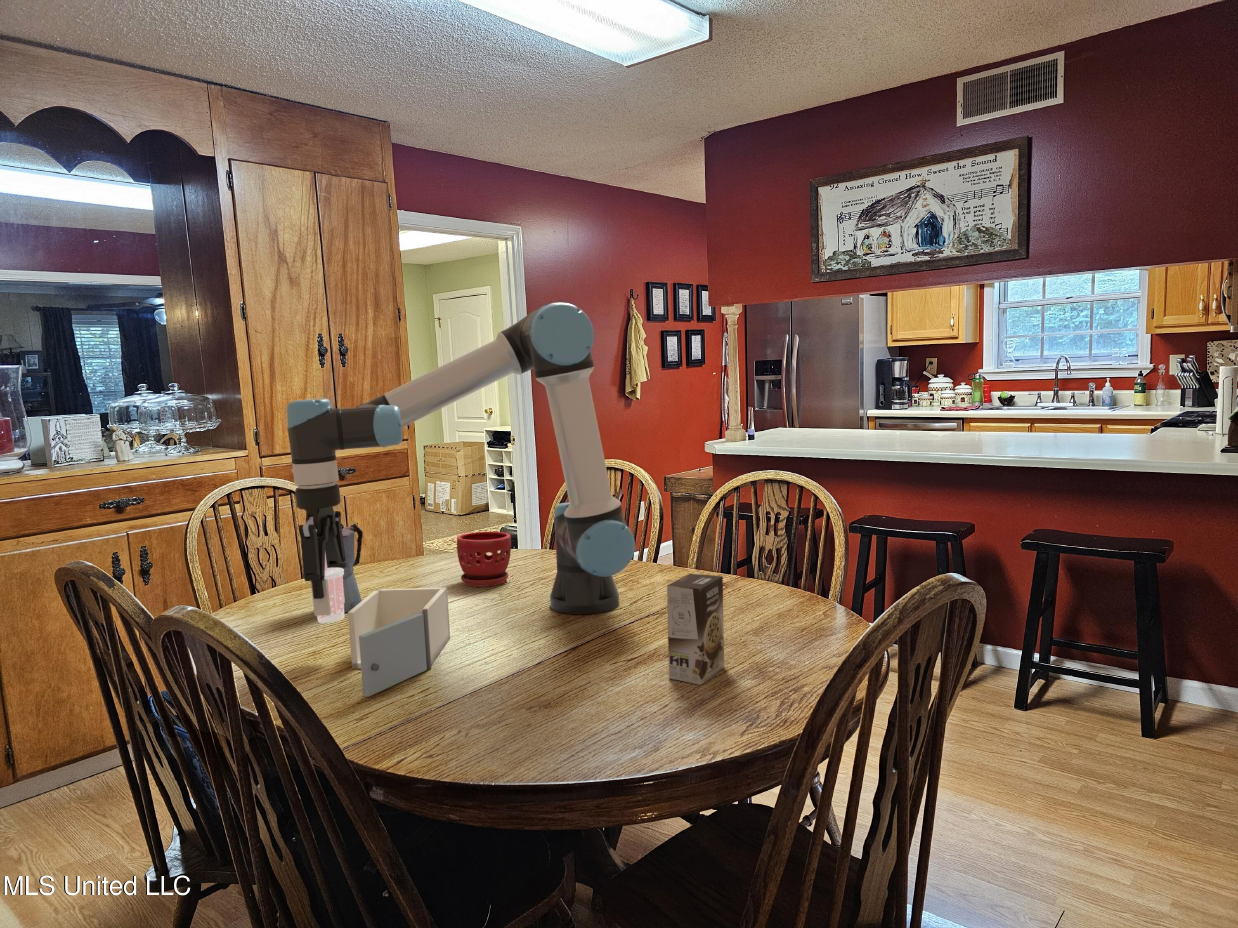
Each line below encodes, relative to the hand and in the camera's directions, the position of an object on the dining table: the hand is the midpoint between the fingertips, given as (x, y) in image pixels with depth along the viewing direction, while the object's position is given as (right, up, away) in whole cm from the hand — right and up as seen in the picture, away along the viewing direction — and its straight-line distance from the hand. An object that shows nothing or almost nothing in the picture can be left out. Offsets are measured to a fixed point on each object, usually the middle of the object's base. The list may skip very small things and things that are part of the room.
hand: (330, 608), depth 147 cm
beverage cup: (0, -2, 0) cm, 2 cm away
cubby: (+13, -9, +3) cm, 16 cm away
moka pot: (-9, -6, +33) cm, 35 cm away
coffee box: (+66, -9, -12) cm, 68 cm away
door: (+16, -10, -13) cm, 23 cm away
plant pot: (+20, -3, +51) cm, 55 cm away
